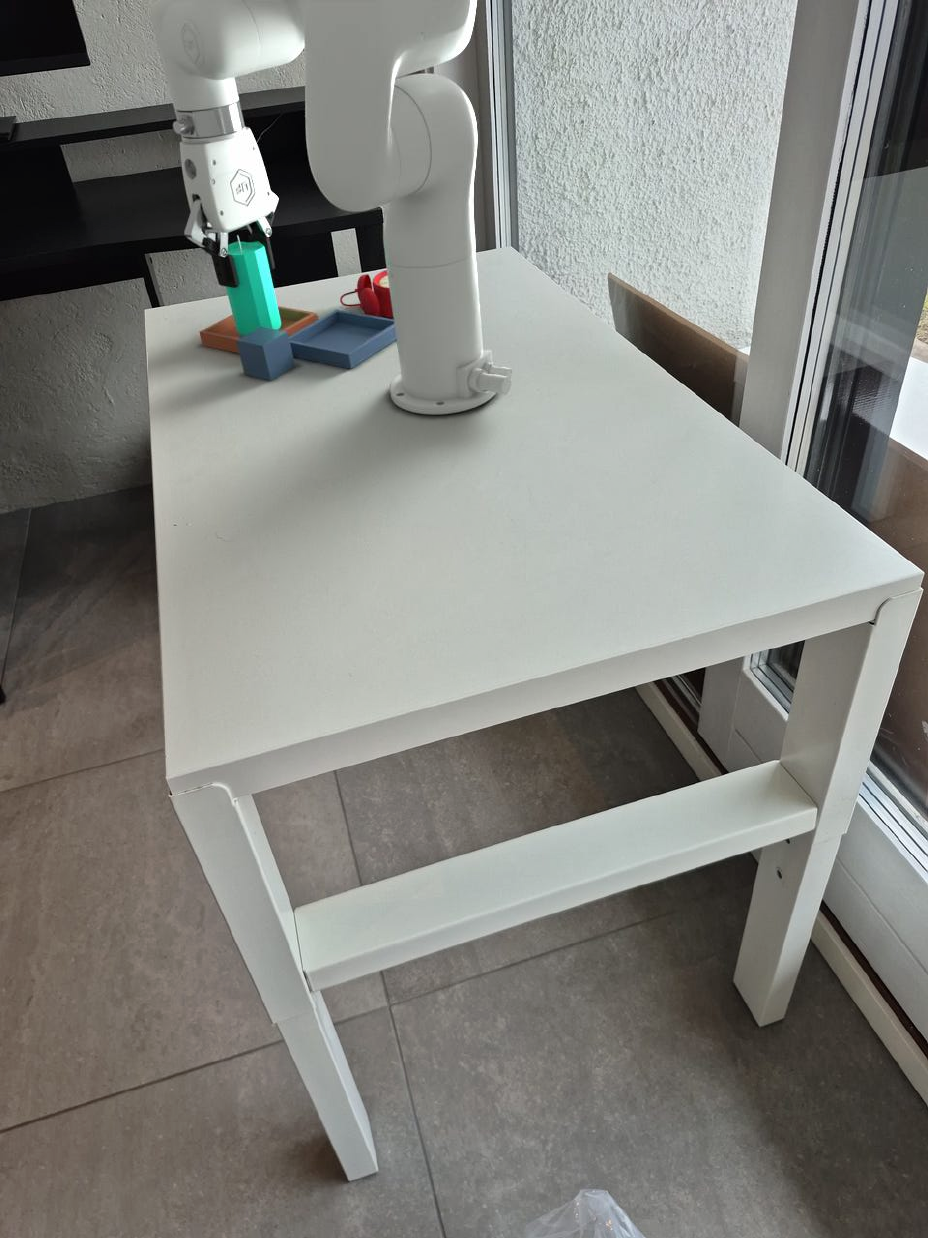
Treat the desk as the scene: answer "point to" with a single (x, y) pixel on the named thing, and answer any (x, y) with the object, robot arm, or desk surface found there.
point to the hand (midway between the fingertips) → (247, 275)
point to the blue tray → (343, 338)
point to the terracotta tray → (226, 336)
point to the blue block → (265, 353)
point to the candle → (252, 289)
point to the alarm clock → (373, 295)
